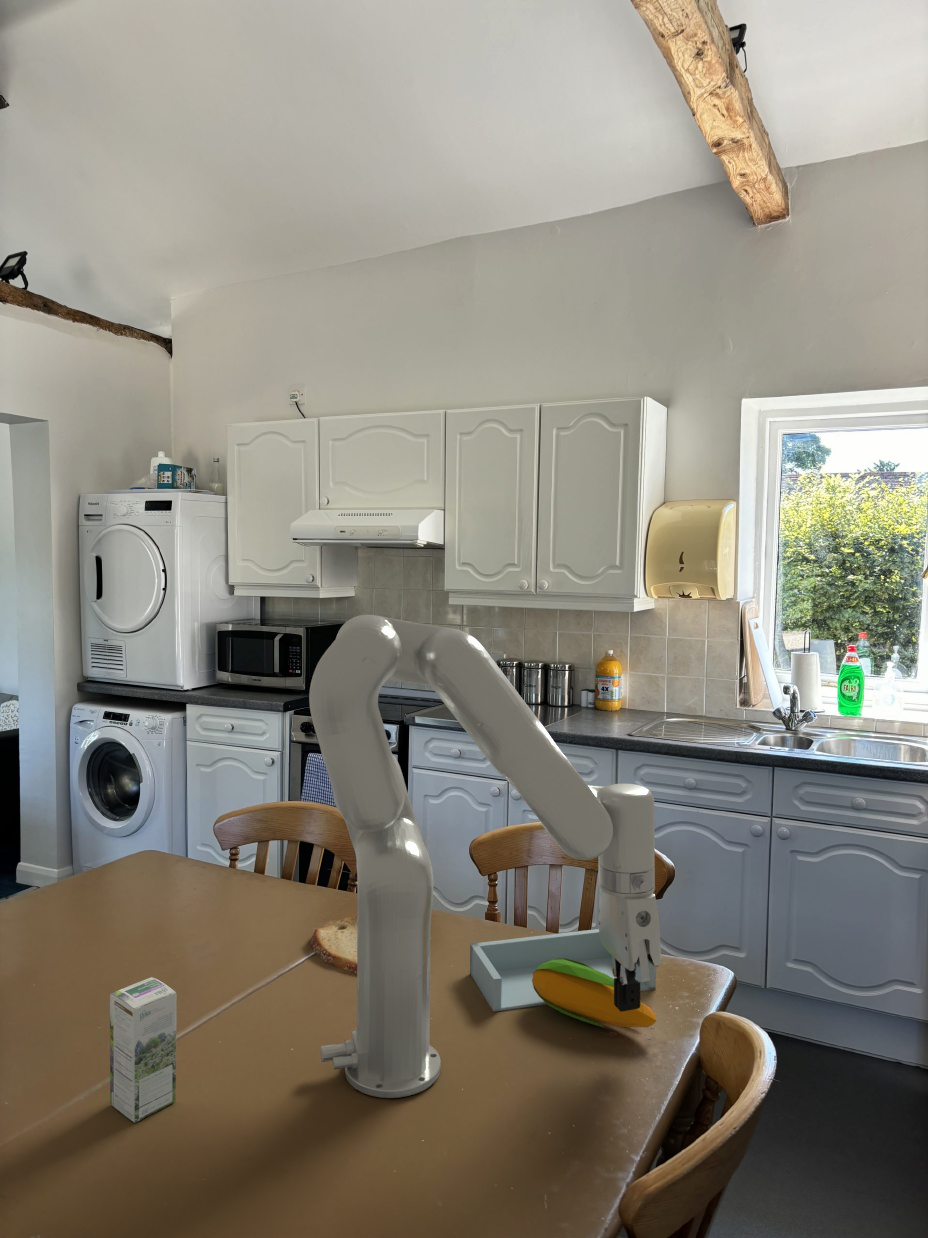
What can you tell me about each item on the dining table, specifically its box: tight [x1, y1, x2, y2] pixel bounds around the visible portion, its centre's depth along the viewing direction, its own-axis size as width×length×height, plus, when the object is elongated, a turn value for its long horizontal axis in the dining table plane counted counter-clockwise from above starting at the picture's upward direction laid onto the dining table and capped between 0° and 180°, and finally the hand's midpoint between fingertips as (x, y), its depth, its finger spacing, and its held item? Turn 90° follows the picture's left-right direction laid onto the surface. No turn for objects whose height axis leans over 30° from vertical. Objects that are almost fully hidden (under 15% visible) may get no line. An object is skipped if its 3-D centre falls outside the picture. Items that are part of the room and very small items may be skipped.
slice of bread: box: [310, 915, 358, 975], centre depth 149 cm, size 18×18×4 cm
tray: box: [469, 928, 657, 1013], centre depth 139 cm, size 27×12×5 cm, turn 106°
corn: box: [532, 959, 657, 1029], centre depth 127 cm, size 7×8×20 cm
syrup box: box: [109, 977, 177, 1124], centre depth 106 cm, size 6×6×14 cm
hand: (627, 1007), depth 118 cm, fingers closed
